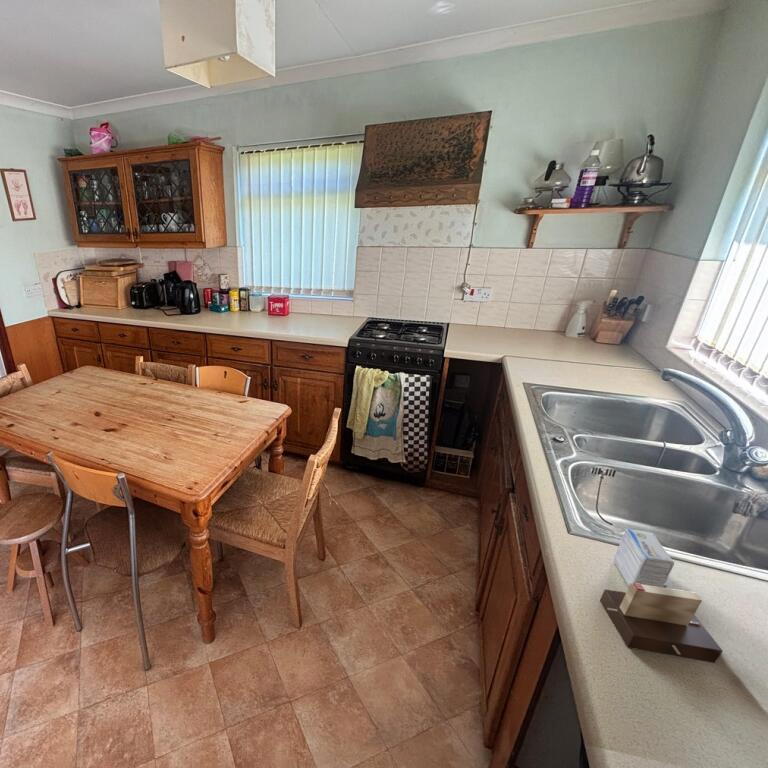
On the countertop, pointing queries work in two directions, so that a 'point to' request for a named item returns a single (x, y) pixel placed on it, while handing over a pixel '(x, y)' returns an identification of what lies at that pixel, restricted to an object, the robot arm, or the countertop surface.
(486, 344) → the countertop surface
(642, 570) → the medicine box
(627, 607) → the dial pointer
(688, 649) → the dark brown flat slab
